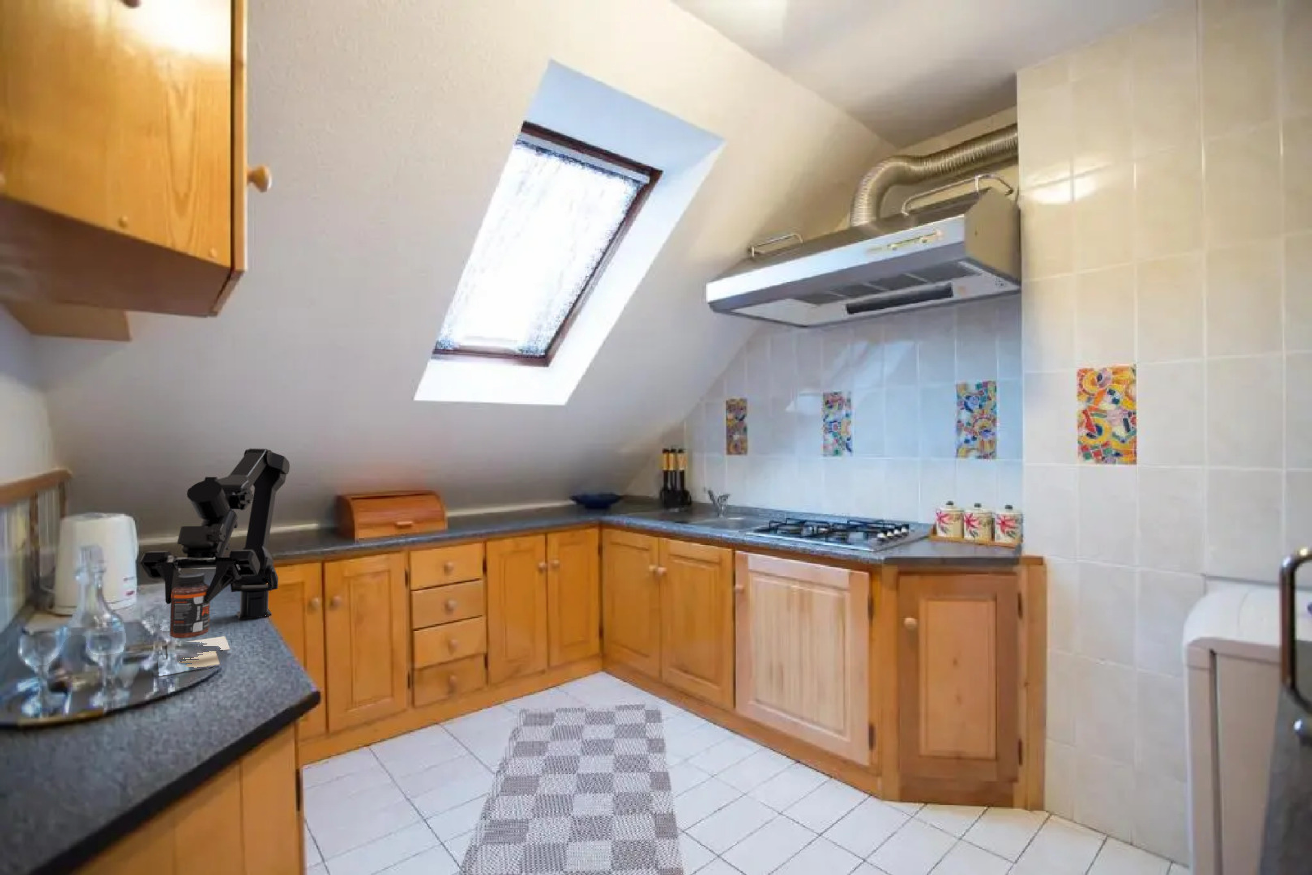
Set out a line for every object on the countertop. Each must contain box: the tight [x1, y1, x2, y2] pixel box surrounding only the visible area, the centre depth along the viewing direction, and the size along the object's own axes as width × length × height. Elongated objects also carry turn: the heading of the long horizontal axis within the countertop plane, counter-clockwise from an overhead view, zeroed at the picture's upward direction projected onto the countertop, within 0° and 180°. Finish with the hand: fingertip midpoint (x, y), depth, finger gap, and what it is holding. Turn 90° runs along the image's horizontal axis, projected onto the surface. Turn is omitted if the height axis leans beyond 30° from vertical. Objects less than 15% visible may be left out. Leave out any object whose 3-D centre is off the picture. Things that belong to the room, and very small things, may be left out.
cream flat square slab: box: [187, 635, 231, 651], centre depth 128 cm, size 10×10×1 cm
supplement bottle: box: [169, 572, 211, 639], centre depth 119 cm, size 6×6×11 cm
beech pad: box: [179, 651, 221, 668], centre depth 118 cm, size 9×9×1 cm
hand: (186, 602), depth 117 cm, fingers closed on supplement bottle, 6 cm apart
